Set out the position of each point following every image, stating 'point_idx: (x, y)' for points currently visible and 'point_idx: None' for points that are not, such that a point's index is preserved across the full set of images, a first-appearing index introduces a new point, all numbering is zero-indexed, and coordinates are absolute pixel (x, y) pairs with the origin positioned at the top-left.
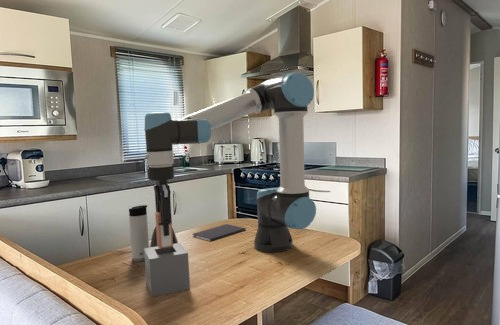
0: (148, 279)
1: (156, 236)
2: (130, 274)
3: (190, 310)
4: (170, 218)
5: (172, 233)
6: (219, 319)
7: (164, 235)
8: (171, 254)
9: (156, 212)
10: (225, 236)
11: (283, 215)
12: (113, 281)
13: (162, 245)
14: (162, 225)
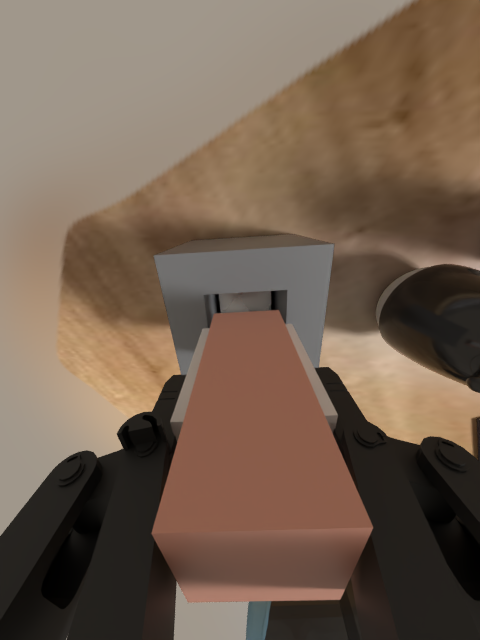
0: (235, 240)
1: None
2: (395, 186)
3: (102, 313)
4: (58, 554)
5: (461, 380)
6: (59, 350)
7: (170, 378)
8: (187, 343)
9: (350, 535)
10: (478, 448)
11: (275, 615)
12: (371, 116)
13: (202, 333)
14: (174, 426)
